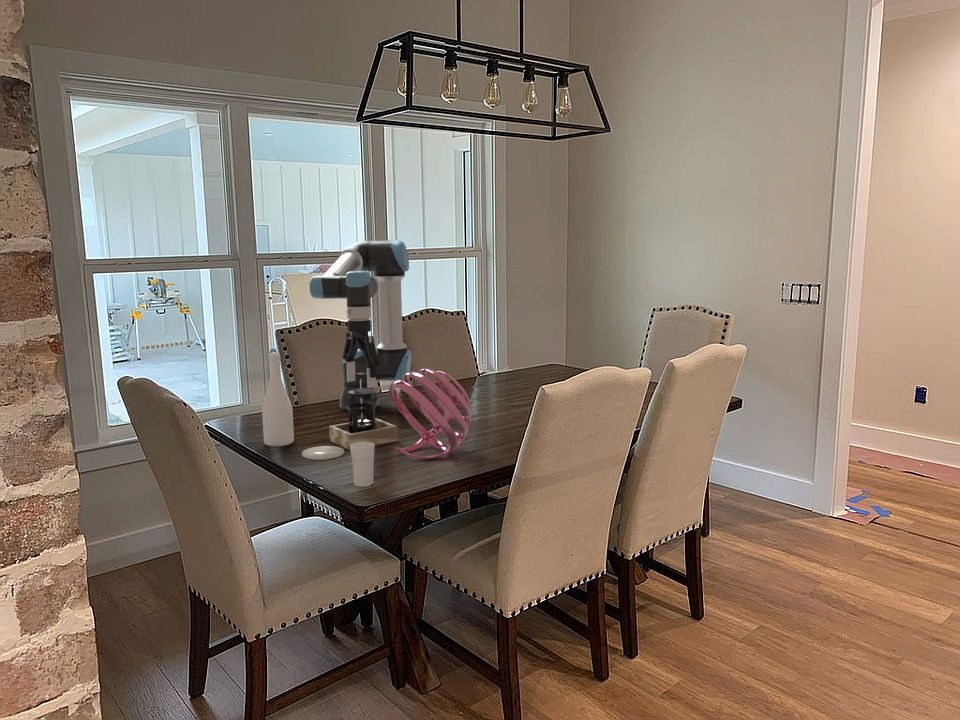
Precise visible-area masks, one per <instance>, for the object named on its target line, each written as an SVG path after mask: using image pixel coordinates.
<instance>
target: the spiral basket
mask: <svg viewBox="0 0 960 720" xmlns="http://www.w3.org/2000/svg"><path fill="white" fill-rule="evenodd" d="M427 373H429V374H431V375H432V376H433V377H435V381H436V383H437V384H436V383H435V382H433V381H432V380H431V379H430V378H429V377H427ZM410 377H411V378H413V379H415V380H417V381H419V384H421V385H420V386H421V387H422V388H423V390H424V392H425V393H426V394H427V396H428V397H429V398H430V400H431V401H432V402H433V403H434V404H435V405H436V406H437V407H436V406H435V405H434V404H433V403H432V402H431V401H430V400H429V399H428V398H427V397H426V396H425V395H424V394H423V393H421V392H420V391H419V390H418V389H416V388H415V387H414V386H413V385H412V383H411V380H410ZM450 381H451V382H450ZM454 385H455V386H456V387H455V386H454ZM457 388H458V389H459V390H458V389H457ZM397 389H400V390H402V391H403V392H405V393H406V394H407V396H408V398H409V399H410V400H411V401H412V403H413V405H414V406H415V407H416V408H417V409H418V410H419V412H420V413H421V414H422V415H423V416H424V418H426V419H427V421H429V423H431V424H432V429H431V430H427V429H426V428H425V427H423V425H422V424H421V423H420V422H419V421H418V420H417V419H416V418H415V417H414V416H413V414H412V413H411V412H410V411H409V409H408V408H407V407H406V405H405V404H404V402H403V401H402V400H401V397H400V396H399V394H398V391H397ZM388 392H389V396H390V398H391V399H392V403H393V404H394V406H395V407H396V409H397V410H398V411H399V413H400V414H401V415H402V417H403V418H404V419H405V420H406V422H407V423H408V424H409V425H410V426H411V427H412V429H414V430H415V431H416V433H417V434H419V435H420V437H421V439H419V440H418V441H416V442H415V443H414V444H412V445H409V446H407V447H403V448H402V447H398V446H396V447H394V449H395V450H396V451H398V452H401V453H402V454H404V455H405V456H408V457H410V458H413V459H417V460H434V459H438V458H441V457H444V456H447V455H448V454H451V453H452V452H453V451H454V450H456V449H457V448H458V447H459V446H460V444H461V443H463V440H465V437H467V434H468V432H469V428H470V425H471V422H472V412H471V411H472V410H471V405H470V403H471V402H470V398H469V396H468V394H467V392H466V391H465V389H464V387H463V386H462V385H461V384H460V383H459V382H458V381H457V380H456V378H454V377H453V376H452V375H450V374H448V373H446V372H445V371H441V370H437V371H436V370H434V369H432V368H426V367H425V368H420V369H419V370H418V371H414V370H413V371H411V370H410V372H407V373H405V374H404V375H403V376H402V380H396V381H393V382H391V384H390V386H389V388H388ZM457 406H459V407H461V408H463V409H464V411H465V413H466V416H463V415H462V413H461V412H460V410H459V408H457ZM437 408H438V409H439V410H441V411H442V413H443V414H442V413H441V412H440V411H439V410H438V409H437ZM450 420H453V421H454V422H456V423H457V424H458V426H459V428H460V430H461V432H459V431H456V430H454V429H453V428H452V427H451V425H450V424H449V421H450ZM439 434H444V435H445V437H446V439H447V441H448V443H449V445H447V444H445V443H443V442H441V441H440V440H439V439H438V438H437V436H438V435H439ZM426 445H431V446H433V447H434V448H436V449H437V450H439V451H441V453H439V454H434V455H427V456H426V455H417V454H413V453H411V452H413V451H417V450H418V449H421V448H423V447H424V446H426Z"/></svg>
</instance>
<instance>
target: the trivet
mask: <svg viewBox="0 0 960 720" xmlns="http://www.w3.org/2000/svg"><path fill="white" fill-rule="evenodd" d="M343 455H345V448H344V447H341V446H335V445H321V446H313V447H310V448H307V449H304V450H302V452H301V457H302V458H303V459H304V458H305V459H307V460H313V461H323V460H331V459H336V458H339V457H341V456H343Z"/></svg>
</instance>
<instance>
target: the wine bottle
mask: <svg viewBox="0 0 960 720" xmlns="http://www.w3.org/2000/svg"><path fill="white" fill-rule="evenodd" d="M268 361H269V383H268V386H267V389H266V393H265V397H264V399H263V403H262V408H261V410H262V411H261V414H262V428H263V442H264V444H265V446H268V447H284V446H289V445H291V444H293V442H294V439H295V434H294V430H295V429H294V414H293V412H294V411H293V406H292V403H291V400H290V398H289V395H288V393H287V390H286V388H285V385H284V383H283V380H282V373H281V372H282V371H281V354H280V352H275V351H274V352H269V354H268Z"/></svg>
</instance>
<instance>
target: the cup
mask: <svg viewBox="0 0 960 720" xmlns="http://www.w3.org/2000/svg"><path fill="white" fill-rule="evenodd" d="M349 451H350V457H351V463H352V464H351V465H352V474H353V475H352V476H353V485H355V487H359V488H365V487H370V486H371V484H372V485H374V468H375V467H374V463H375V462H374V459H375V446H374V443H372V442H356V443H353V444H351V445H350V450H349Z"/></svg>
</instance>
